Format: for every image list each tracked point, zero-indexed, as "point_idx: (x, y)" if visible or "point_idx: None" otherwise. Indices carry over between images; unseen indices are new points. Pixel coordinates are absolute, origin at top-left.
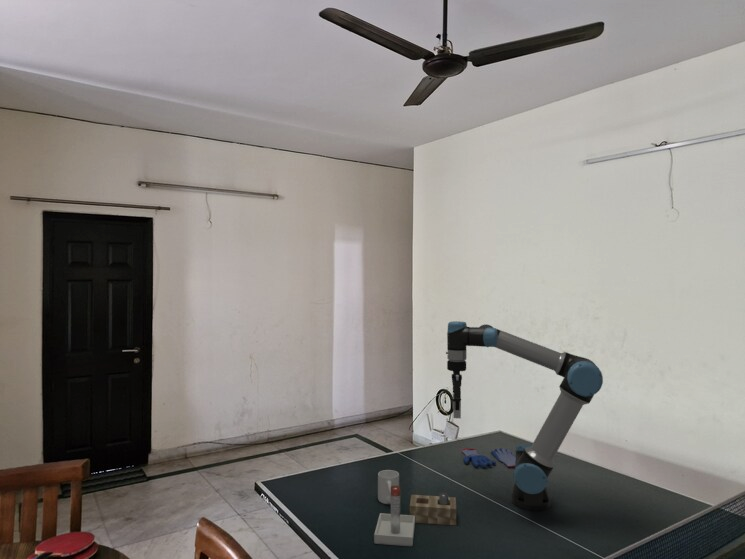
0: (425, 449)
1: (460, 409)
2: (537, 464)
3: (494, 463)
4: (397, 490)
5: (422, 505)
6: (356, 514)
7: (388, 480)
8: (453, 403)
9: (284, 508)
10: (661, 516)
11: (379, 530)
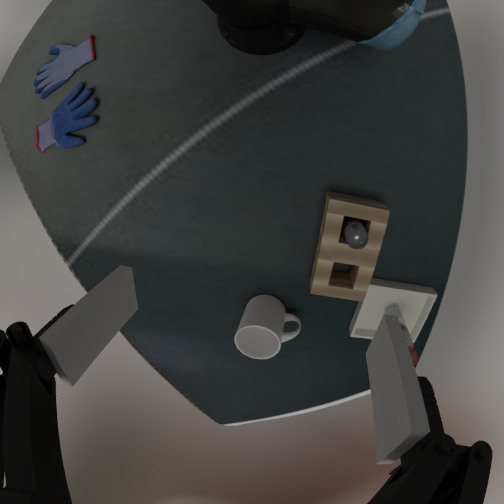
0: (45, 216)
1: (412, 368)
2: None
3: (83, 85)
4: (417, 357)
5: (365, 278)
6: (320, 354)
7: (281, 342)
8: (114, 330)
9: (294, 414)
10: None
11: None
